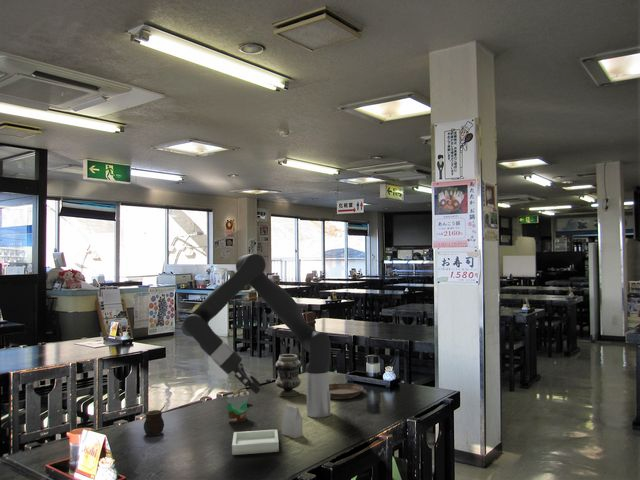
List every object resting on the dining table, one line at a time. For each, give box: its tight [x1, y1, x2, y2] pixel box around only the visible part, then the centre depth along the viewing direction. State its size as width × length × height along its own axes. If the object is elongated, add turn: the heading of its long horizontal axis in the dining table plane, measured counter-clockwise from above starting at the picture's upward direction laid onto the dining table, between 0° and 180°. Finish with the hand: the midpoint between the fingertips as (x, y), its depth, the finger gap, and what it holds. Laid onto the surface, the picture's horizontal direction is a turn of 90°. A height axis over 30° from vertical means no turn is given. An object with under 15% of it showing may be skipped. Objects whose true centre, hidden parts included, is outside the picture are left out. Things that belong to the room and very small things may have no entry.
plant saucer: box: [329, 382, 364, 400], centre depth 235 cm, size 21×21×3 cm
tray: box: [231, 428, 280, 456], centre depth 171 cm, size 15×13×3 cm
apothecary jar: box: [275, 353, 302, 398], centre depth 239 cm, size 12×12×18 cm
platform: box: [226, 388, 250, 398], centre depth 222 cm, size 12×18×7 cm, turn 128°
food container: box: [226, 389, 250, 424], centre depth 201 cm, size 12×6×10 cm, turn 168°
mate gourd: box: [143, 405, 166, 437], centre depth 186 cm, size 7×8×10 cm
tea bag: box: [281, 404, 304, 439], centre depth 182 cm, size 4×7×10 cm, turn 43°
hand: (258, 388), depth 181 cm, fingers open, 8 cm apart
